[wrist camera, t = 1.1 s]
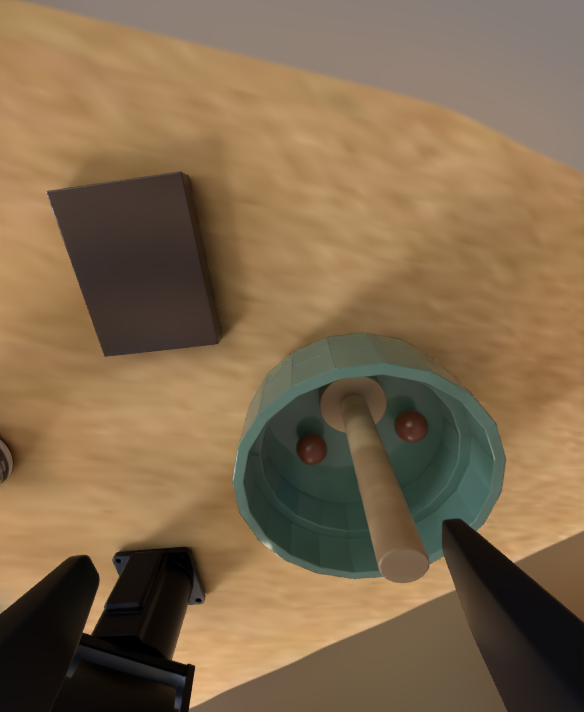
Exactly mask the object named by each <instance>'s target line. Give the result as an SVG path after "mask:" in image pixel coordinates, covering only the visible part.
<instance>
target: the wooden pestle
mask: <svg viewBox="0 0 584 712" xmlns="http://www.w3.org/2000/svg"><path fill="white" fill-rule="evenodd" d="M386 404H387V400H386V395H385V392H384V390H383V388H382V386H381V384H380V382H379V381H378V379H377V378H376V377H375V376H365V377H355V378H346V379H339V380H336V381H334V382H331V383H329V384H326V385H324V386H321V388H320V391H319V405H320V411H321V414H322V417H323V419H324V420H325V421H326V423H327V424H328V425H330V426H331V427H332V428H334V429H336V430H338V431H341V432H345V433H346V435H347V439H348V443H349V447H350V452H351V456H352V460H353V464H354V468H355V473H356V477H357V481H358V485H359V489H360V494H361V498H362V502H363V506H364V510H365V515H366V519H367V523H368V527H369V531H370V535H371V540H372V544H373V548H374V552H375V556H376V561H377V565H378V569H379V571H380V573H381V574H382V576H383V577H384V578H386V579H387V580H389V581H392V582H397V583H407V582H412V581H415V580H417V579H419V578H421V577H422V576H423V575H424V574H425V573H426V572H427V571H428V568H429V557H428V555H427V552H426V550H425V547H424V545H423V542H422V540H421V537H420V535H419V532H418V530H417V527H416V525H415V522H414V520H413V517H412V515H411V512H410V510H409V507H408V505H407V502H406V500H405V497H404V495H403V492H402V490H401V487H400V485H399V482H398V480H397V477H396V475H395V472H394V470H393V467H392V465H391V462H390V460H389V457H388V455H387V452H386V450H385V447H384V445H383V442H382V440H381V437H380V435H379V432H378V430H377V427H376V425H375V424H377V423H378V422H379V420H380V419H381V418H382V416H383V414H384V412H385V410H386Z"/></svg>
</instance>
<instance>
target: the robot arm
mask: <svg viewBox="0 0 584 712" xmlns="http://www.w3.org/2000/svg"><path fill="white" fill-rule="evenodd" d="M442 550H443V554H444V557H445V559H446V562H447V565H448V568H449V571H450V574H451V576H452V579H453V582H454V585H455V588H456V591H457V593H458V596H459V599H460V602H461V605H462V608H463V610H464V613H465V616H466V619H467V622H468V624H469V626H470V630H471V632H472V634H473V636H474V638H475V641H476V643H477V646H478V647H479V650H480V652H481V654H482V657H483V659H484V661H485V663H486V665H487V667H488V670H489V672H490V674H491V676H492V678H493V681H494V682H495V685H496V687H497V689H498V692H499V694H500V696H501V698H502V700H503V702H504V705H505V707H506V709H507V711H508V712H584V622H583V621H582V620H580V619H579V618H578V617H577V616H576V615H575V614H573V613H572V612H571V611H570V610H568V608H566V607H565V606H564V605H563V604H562V603H560V602H559V601H558V600H557V599H556V598H555V597H553V596H552V595H551V594H550V593H548V592H547V591H546V590H545V589H544V588H543V587H542V586H540V585H539V584H538V583H537V582H536V581H534V580H533V579H532V578H531V577H530V576H528V575H527V574H526V573H525V572H524V571H523V570H521V569H520V568H519V567H518V566H516V565H515V564H514V563H513V562H512V561H511V560H510V559H508V558H507V557H506V556H505V555H504V554H502V553H501V552H500V551H499V550H498V549H496V548H495V547H494V546H493V545H492V544H491V543H489V542H488V541H487V540H486V539H485V538H483V537H482V536H481V535H480V534H479V533H478V532H476V531H475V530H474V529H473V528H472V527H470V526H469V525H468V524H467V523H466V522H465V521H463V520H462V519H459V518H455V519H445V520H443V522H442ZM112 560H113V563H114V565H115V567H116V570H117V572H118V574H119V578H118V580H117V582H116V584H115V586H114V588H113V590H112V592H111V594H110V596H109V598H108V599H107V601H106V603H105V606H104V608H105V609H104V611H103V613H102V615H101V617H100V619H99V621H98V622H97V624H96V626H95V628H94V630H93V632H92V634H91V635H89V634H86V633H83V630H84V627H85V624H86V621H87V618H88V615H89V613H90V610H91V607H92V604H93V601H94V598H95V595H96V592H97V590H98V586H99V581H100V578H99V574H98V572H97V570H96V568H95V566H94V564H93V563H92V561H91V559H90V557H89V556H87V555H77V556H72V557H69V558H68V559H66V560H65V561H64V562H63V563H62V564H60V565H59V566H58V567H57V568H55V569H54V570H53V571H52V572H51V573H49V574H48V575H47V576H46V577H45V578H43V579H42V580H41V581H40V582H39V583H37V584H36V585H35V586H34V587H33V588H31V589H30V590H29V591H28V592H27V593H25V594H24V595H23V596H22V597H21V598H19V599H18V600H17V601H16V602H14V603H13V604H12V605H11V606H10V607H8V608H7V609H6V610H5V611H4V612H2V613H1V614H0V712H188V711H189V705H190V698H191V691H192V685H193V678H194V671H195V666H194V665H191V664H187V665H185V664H182V663H179V662H176V661H172V658H173V654H174V651H175V647H176V644H177V640H178V637H179V634H180V630H181V627H182V623H183V620H184V617H185V613H186V610H187V606H188V605H193V604H202V603H204V601H205V597H206V595H205V592H204V589H203V586H202V583H201V580H200V577H199V574H198V571H197V568H196V565H195V562H194V559H193V556H192V553H191V550H190V549H189V548H187V547H178V548H165V549H152V550H138V551H125V552H117V553H116V554H115V555H114V557H113V559H112Z"/></svg>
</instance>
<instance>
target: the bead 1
mask: <svg viewBox="0 0 584 712" xmlns="http://www.w3.org/2000/svg"><path fill="white" fill-rule="evenodd" d="M296 452H297V455H298V457H299V459H300V460H301V461H302V462H304V463H305V464H308V465H316V464H319V463H320V462H322V461H323V460H324V458H325V457H326V454H327V444H326V442H325V440H324V439H323V437H321V436H320V435H319V434H316V433H307V434H304V435H303V436H302V437H300V439H299V440H298V442H297V445H296Z"/></svg>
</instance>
